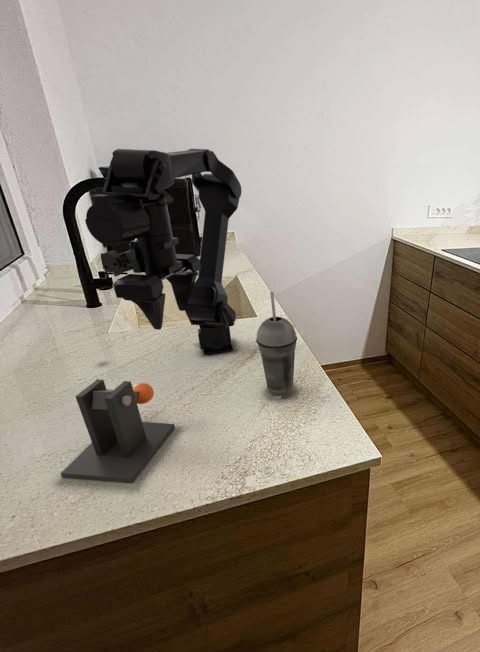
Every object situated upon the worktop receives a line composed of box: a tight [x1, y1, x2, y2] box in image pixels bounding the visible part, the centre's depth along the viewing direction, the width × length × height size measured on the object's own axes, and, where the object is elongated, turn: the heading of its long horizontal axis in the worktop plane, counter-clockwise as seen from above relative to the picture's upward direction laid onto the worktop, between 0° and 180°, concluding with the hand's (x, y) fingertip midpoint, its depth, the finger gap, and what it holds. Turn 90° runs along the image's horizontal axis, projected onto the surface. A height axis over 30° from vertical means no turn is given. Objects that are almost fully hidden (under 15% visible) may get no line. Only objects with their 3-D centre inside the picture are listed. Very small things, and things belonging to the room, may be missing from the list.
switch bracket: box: [60, 378, 176, 484], centre depth 56 cm, size 12×10×12 cm
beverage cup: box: [255, 291, 298, 400], centre depth 70 cm, size 7×7×20 cm
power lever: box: [92, 382, 155, 410], centre depth 58 cm, size 11×3×3 cm, turn 176°
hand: (170, 319), depth 72 cm, fingers open, 9 cm apart
